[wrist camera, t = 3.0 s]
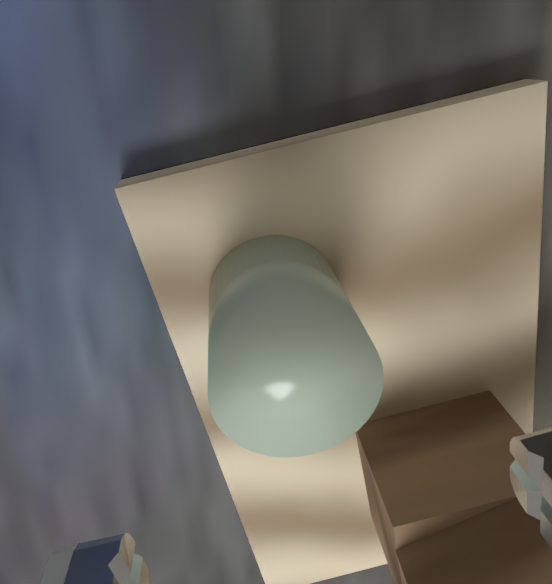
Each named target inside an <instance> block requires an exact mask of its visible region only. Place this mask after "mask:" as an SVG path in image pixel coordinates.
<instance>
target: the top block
mask: <svg viewBox="0 0 552 584" xmlns="http://www.w3.org/2000/svg"><path fill="white" fill-rule="evenodd" d="M395 552H396V555H397V557H398V560H399V563H400V565H401V568H402V571H403V574H404V576H405V579H406V582H407V584H552V549H551V547H550V546H549V545H548V543H547V542H546V540H545V539H544V538H543V536H542V535H541V533H540V520H538V519H537V518H535V517H533V516H531V515H529V514H527V513H526V511H525V510H524V508H523V507H522V505H521V504H520V502H519V501H518V499H517V497H516V498H514V499H512V500H509V501H507V502H505V503H502V504H500V505H498V506H496V507H493V508H491V509H489V510H486V511H484V512H482V513H480V514H477V515H475V516H473V517H470V518H468V519H466V520H464V521H461V522H459V523H457V524H455V525H452V526H450V527H448V528H445V529H443V530H441V531H439V532H436V533H434V534H432V535H429V536H427V537H425V538H423V539H420V540H418V541H416V542H413V543H411V544H409V545H407V546H404V547H402V548H400V549H398V550H395Z"/></svg>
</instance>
